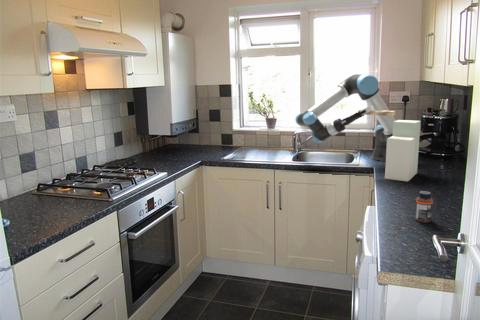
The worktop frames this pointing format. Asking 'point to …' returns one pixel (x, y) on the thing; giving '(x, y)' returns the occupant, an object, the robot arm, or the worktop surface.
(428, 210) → the supplement bottle
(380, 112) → the t-shaped wooden block
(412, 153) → the tall pale green block
